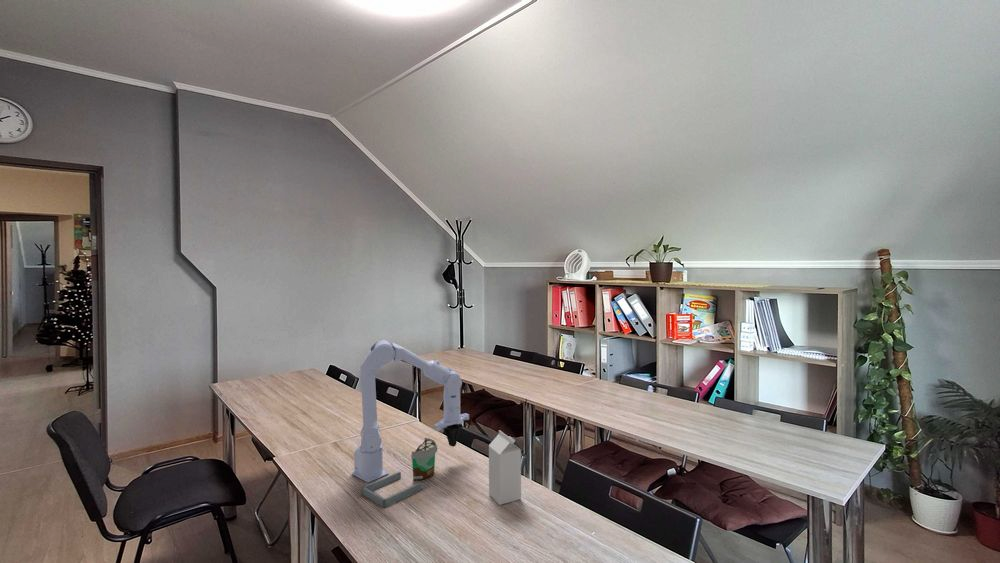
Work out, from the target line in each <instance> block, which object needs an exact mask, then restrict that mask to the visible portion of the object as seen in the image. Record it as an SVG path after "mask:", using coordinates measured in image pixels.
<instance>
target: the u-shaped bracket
mask: <svg viewBox="0 0 1000 563" xmlns="http://www.w3.org/2000/svg"><path fill="white" fill-rule="evenodd" d="M401 473H402V472H401V471H399V470H398V471H397V472H394V473H392V474H390V475H386V476H384V477H383V478H382V477H381V478H379V479H377V480H374V482H373V481H372V482H370V483H369V484H366V485H364V486H362V487H361V495H363V496H364V497H365V498H367V499H369V500H371V501H372V502H374V503H376V504H378V505H379V506H381V507H382V508H386V507H389V506H391V505H393V504H394V503H397V502H399V501H401V500H403V499H405V498H408V497H409V496H411V495H414V494H415V493H418V492H420V491H422V490H423V481H418V483H415V484H413V485H411V486H409V487H407V488H405V489H402V490H400V491H399V492H396V493H395V494H392V495H389V496H388V497H386V498H385V497H383V496H381V495H379V494H377V493H375V490H377V489H379V488H381V487H384V486H386V485H388V484H391V483H392V482H395V481H397V480H399V479H401V478H402V474H401Z"/></svg>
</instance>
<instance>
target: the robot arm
mask: <svg viewBox="0 0 1000 563" xmlns="http://www.w3.org/2000/svg"><path fill="white" fill-rule="evenodd" d="M392 361H394V362H399V361H404V362H406V363H408V364H410V365H411V366H414V367H416V368H418V369H420V370H422V373H423V375H424V376H425V377H427V378H428V379H430V380H432V381H434V382H436V383H437V384H440V385H444V386H443V394H442V395H443V418H442V419H441V420H439V421H438V422H437V423H434V425H433V426H434V427H433V428H434V429H433V430H434V431H436V432H440V431H441V430H443V432H444V434H445V436H446V438H447V441H448V445H449V446H450V447H451V448H453V447H455V446H456V445H457V442H458V437H459V435H460V434H461V430H462V429H463V422H464V421H469V420H470V414H469V413H466V412H465V413H461V387H462V385H463V381H462V378H461V377H460V375H459V374H458V373H457V371H455V370H454V369H452V368H451V367H446V366H444V365H442V364H440V363H441V362H440V361H439V360H437V359H436V360H433V359H431V360H425V359H424V358H422V357H420V356H418V355H417V354H415V353H414V352H412V351H410V350H408V349H407V348H405V347H404V346H401V345H399V344H397V343H395V342H391V341H390V340H389V339H383V338H382V339H379V340H377V341H376V342H374V343H373V344H372V345H371V346H370V348H369V350H368V352H367V353H366V355H365V357H364V359H363V360H362V362H361V363H360V380H361V381H360V386H361V388H360V390H361V405H362V406H361V408H362V428H361V429H360V439H361V440H360V445H358V446H357V447H356V449H355V450H354V453H353V454H354V455H353V461H354V462H353V465H354V466H353V467H354V468H353V470H354V471H352V472H351V474H352V475H353V476H355V477H357V478H359V479H360V480H362V481H364V482H366V483H372V482H373V481H376V480H379V479H381V478H382V477H386V476H388V474H389V472H388V471H387V470H385V469H383V468H384V467H383V465H384V461H383V457H384V456H383V444H382V437H381V429H380V427H379V425H378V424H379V423H378V408H377V406H378V405H377V390H376V372H377V371H378V370H379V369H380V368H381V367H383V366H384V365H387V364H389V363H390V362H392Z"/></svg>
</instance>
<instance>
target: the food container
mask: <svg viewBox="0 0 1000 563" xmlns="http://www.w3.org/2000/svg"><path fill="white" fill-rule="evenodd" d="M437 452H438V445H437V443H436V441H435V440H434V439H432V438H430V437H429V438H428V437H424V441H423V442H422V443H421V444H420V445H419V446H418V447H417V448H416V450H415V451H411V456H410V459H411V461H412V462H411V463H412V479H413V482H423V481H427V480H429V479H431V478H432V477H434V474H435V465H436V453H437Z"/></svg>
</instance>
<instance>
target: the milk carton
mask: <svg viewBox="0 0 1000 563" xmlns="http://www.w3.org/2000/svg"><path fill="white" fill-rule="evenodd" d="M515 442H516V439H514V438H513V437H511V435H510V436H508V435H507V434H505V433H504V432H503V431H501V430H498V434H497V435H496V436H495V437H494V438H493V440H492V441H491V442H490V443H489V445H488V494H489V496H490V497H491V498H492V499H493V500H494V501H495V502H496V503H497V504H498V505H499V506H501V505H504V504H508V503H513V502H515V501H519V500H522V450H521V448H520V447H518V445H516V444H514V443H515Z"/></svg>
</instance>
